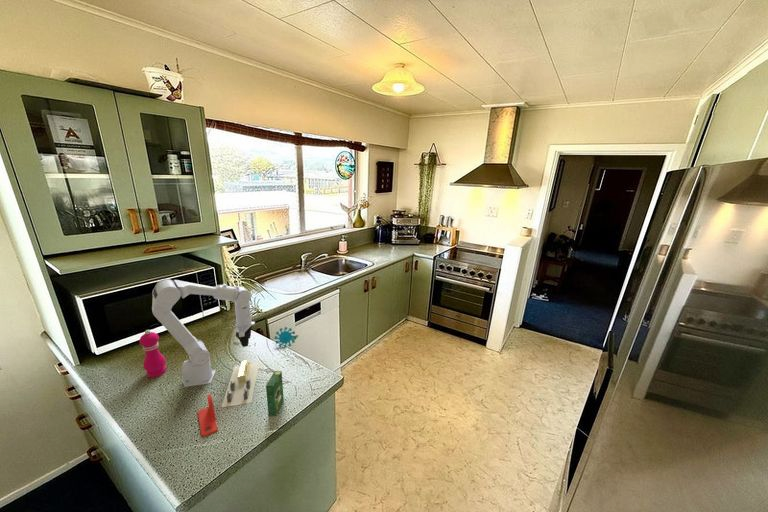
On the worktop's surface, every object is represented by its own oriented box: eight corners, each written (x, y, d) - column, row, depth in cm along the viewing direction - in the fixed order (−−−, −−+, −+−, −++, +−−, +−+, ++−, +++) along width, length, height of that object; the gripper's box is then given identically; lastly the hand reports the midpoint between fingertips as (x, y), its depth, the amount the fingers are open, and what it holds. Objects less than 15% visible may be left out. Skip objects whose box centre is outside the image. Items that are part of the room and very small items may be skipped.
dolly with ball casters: (227, 402, 106) (226, 394, 105) (232, 386, 114) (231, 379, 113) (247, 399, 108) (246, 391, 107) (250, 384, 115) (250, 377, 114)
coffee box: (276, 398, 109) (274, 369, 106) (284, 399, 109) (282, 370, 105) (267, 416, 102) (264, 385, 98) (275, 416, 102) (273, 386, 98)
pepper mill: (171, 369, 122) (162, 328, 116) (152, 380, 116) (141, 337, 110) (161, 364, 125) (152, 323, 119) (141, 374, 118) (131, 332, 112)
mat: (221, 408, 104) (221, 407, 104) (234, 366, 125) (234, 366, 125) (251, 403, 107) (251, 402, 107) (259, 363, 128) (259, 362, 128)
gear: (273, 347, 137) (275, 326, 141) (273, 350, 141) (274, 329, 146) (298, 347, 140) (298, 326, 145) (296, 349, 145) (297, 329, 150)
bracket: (198, 413, 102) (194, 395, 99) (213, 407, 104) (210, 390, 102) (202, 439, 93) (198, 419, 90) (218, 432, 95) (214, 413, 93)
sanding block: (238, 383, 116) (237, 376, 115) (243, 367, 125) (242, 360, 124) (246, 382, 116) (245, 375, 115) (250, 366, 125) (249, 359, 125)
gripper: (250, 322, 117) (253, 350, 121) (255, 305, 131) (258, 332, 135) (231, 324, 116) (235, 352, 120) (238, 307, 129) (242, 333, 133)
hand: (246, 342), depth 127 cm, fingers open, 5 cm apart
